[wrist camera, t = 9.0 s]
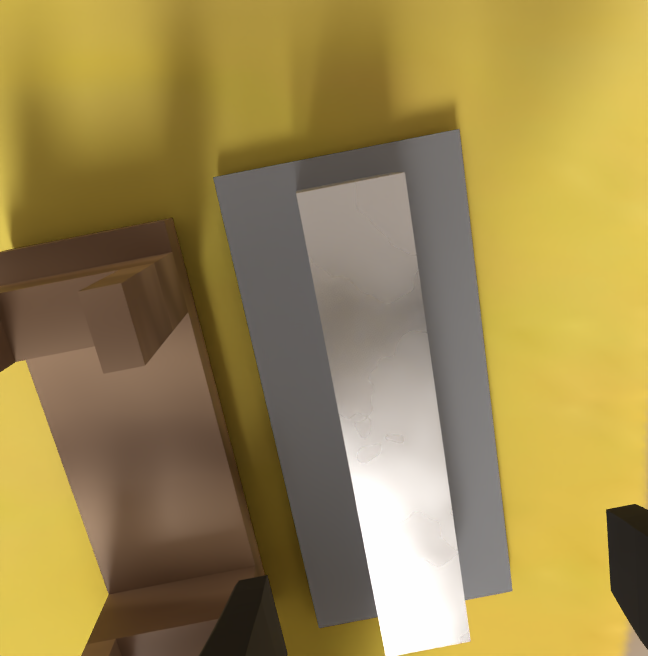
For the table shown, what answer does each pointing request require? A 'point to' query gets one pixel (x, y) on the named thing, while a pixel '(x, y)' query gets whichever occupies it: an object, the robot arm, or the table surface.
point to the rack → (134, 429)
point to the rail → (387, 405)
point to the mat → (315, 376)
